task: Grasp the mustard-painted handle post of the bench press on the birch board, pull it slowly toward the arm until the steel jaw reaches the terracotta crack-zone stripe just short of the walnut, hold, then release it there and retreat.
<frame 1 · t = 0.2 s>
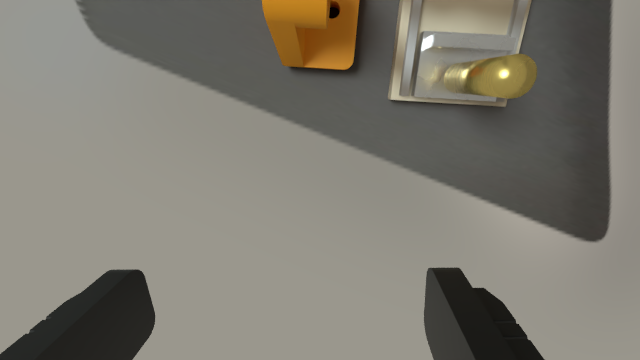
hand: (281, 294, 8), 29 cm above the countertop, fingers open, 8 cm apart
bracket: (322, 15, 32), on the countertop
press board: (459, 0, 31), on the countertop
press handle: (479, 64, 25), point 8 cm above the countertop, slide at 0.0 cm
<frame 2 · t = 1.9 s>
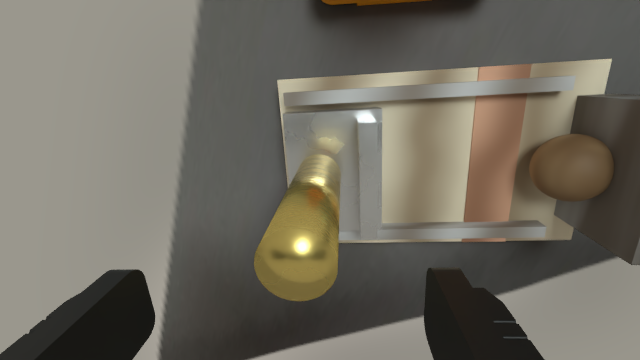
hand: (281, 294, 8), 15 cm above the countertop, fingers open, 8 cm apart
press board: (423, 156, 22), on the countertop
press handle: (332, 200, 15), point 8 cm above the countertop, slide at 0.0 cm
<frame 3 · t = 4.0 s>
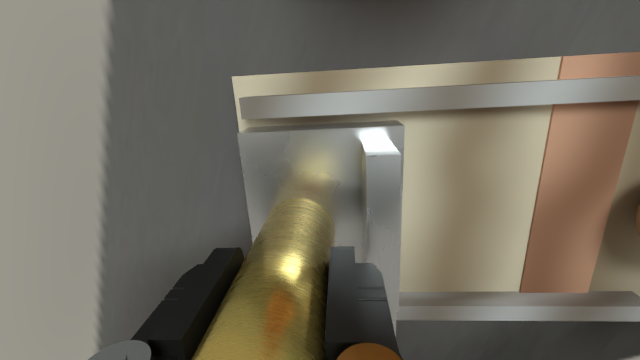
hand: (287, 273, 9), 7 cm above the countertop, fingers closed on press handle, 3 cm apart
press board: (457, 191, 15), on the countertop
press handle: (316, 306, 8), point 8 cm above the countertop, slide at 0.0 cm, touching gripper
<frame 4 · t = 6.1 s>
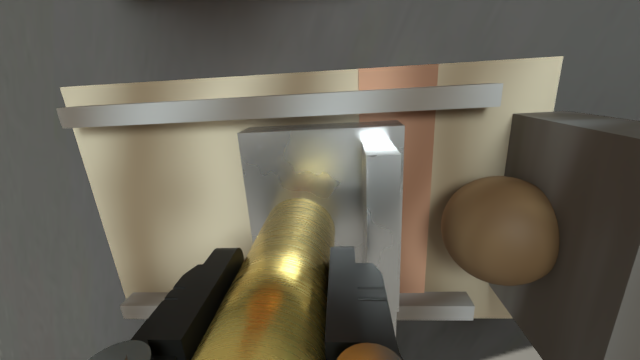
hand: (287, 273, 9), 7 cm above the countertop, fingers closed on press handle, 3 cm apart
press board: (309, 195, 16), on the countertop
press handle: (316, 306, 8), point 8 cm above the countertop, slide at 7.5 cm, touching gripper
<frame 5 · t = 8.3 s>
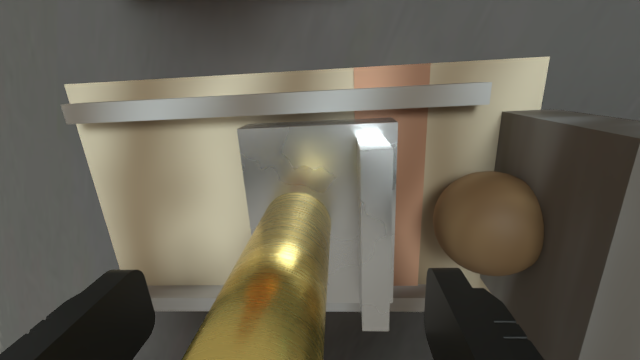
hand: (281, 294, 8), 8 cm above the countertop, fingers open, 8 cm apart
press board: (306, 191, 16), on the countertop
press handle: (312, 292, 8), point 8 cm above the countertop, slide at 7.5 cm
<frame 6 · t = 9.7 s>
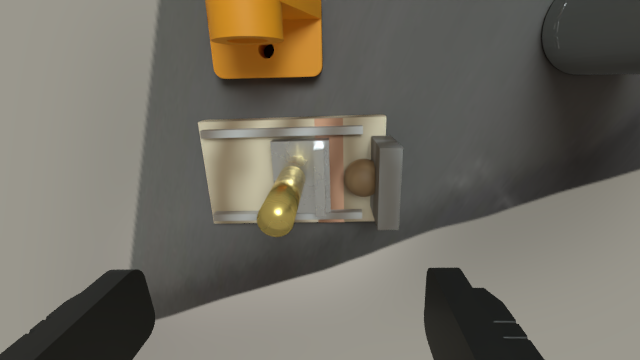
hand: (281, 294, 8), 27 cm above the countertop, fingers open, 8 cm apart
bracket: (271, 41, 32), on the countertop
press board: (296, 168, 36), on the countertop
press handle: (297, 192, 28), point 8 cm above the countertop, slide at 7.5 cm
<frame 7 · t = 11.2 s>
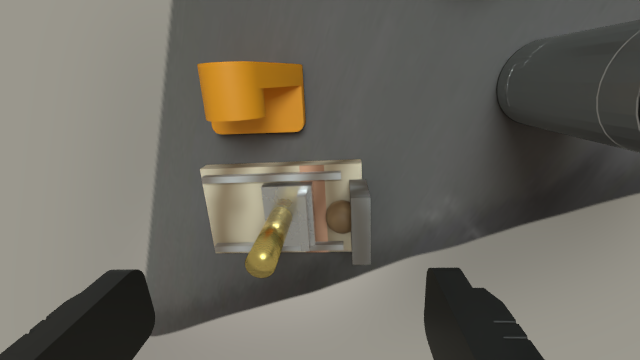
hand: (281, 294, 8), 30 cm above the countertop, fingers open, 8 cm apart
bracket: (261, 99, 37), on the countertop
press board: (286, 205, 41), on the countertop
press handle: (282, 234, 33), point 8 cm above the countertop, slide at 7.5 cm
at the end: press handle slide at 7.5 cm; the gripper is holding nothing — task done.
